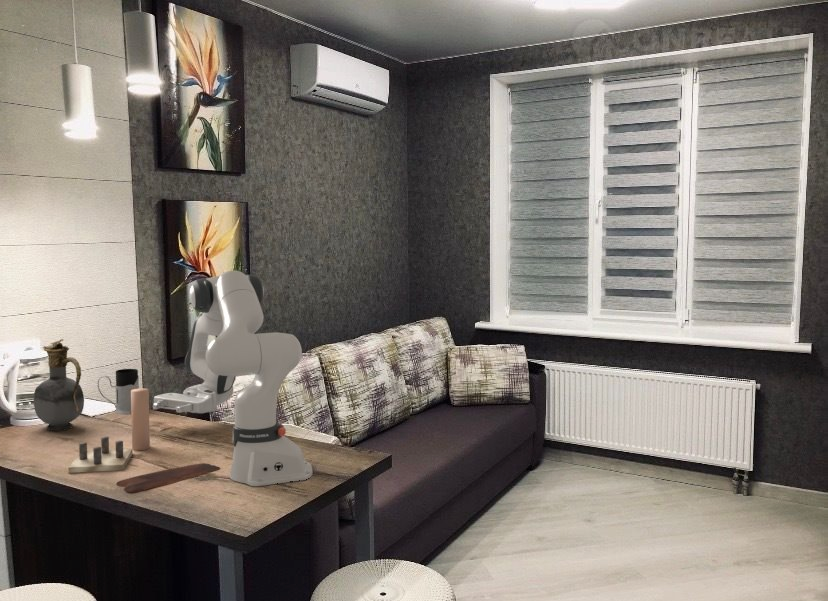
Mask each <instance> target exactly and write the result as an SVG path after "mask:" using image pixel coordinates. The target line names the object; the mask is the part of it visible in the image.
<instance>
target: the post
mask: <svg viewBox="0 0 828 601" xmlns="http://www.w3.org/2000/svg"><path fill="white" fill-rule="evenodd" d="M130 415H131V446H132V448H131V449H132V451H135V450H142V451H145V450H146V449H147V450H149V449H150V448H151V440H150V438H151V437H150V436H151V435H150V434H151V433H150V432H151V431H150V429H151V428H150V394H149V389H148V388H143V387H142V388H139V389H133V390H131V414H130ZM147 450H146V451H147Z"/></svg>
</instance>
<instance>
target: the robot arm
mask: <svg viewBox="0 0 828 601" xmlns="http://www.w3.org/2000/svg"><path fill="white" fill-rule="evenodd" d="M264 297H265V288H264V285H263V282H262V280H261V279H260V277H258V275H254V274H245V273H244V272H242V271H240V270H235V269H234V270H228V271H226V272H223V273H222V274H220V275H218V276H217V275H216V276H212V277H207V278H205V277H201V278H198V279H196V280H194V281H193V282H192V284H191V285H190V289H189V301H190V304H191V305H192V307H193V310H195V311H196V312H198V313H200V314H199V315H197V317H196V318H195V320H194V323H193V326H192V331H191V335H190V339H189V340H190V341H189V346H188V351H187V353H186V355H185V357H184V368H185V370H186V372H188V373H190V374H192V375H195V376H196V377H198V378H200V379H202V380H203V382H202V383H200V384H196V385H191V386H189V387H186V388H185V389H184V390H183V392H182V393H176V392H167V393H162V394H157V395H155V396H154V397H153V404H152V408H153V410H159V409H168V410H175V411H176V413H180V414H181V413H184V412H186V413H187V412H188V413H192V414H205V413H206V414H207V413H213V412H216V411H217V406H219V405H222V404H224V403H225V402H227V401H228V400H229V399H231V397H232V395H233V394H234V384H235V382H236V377H242V376H251V375H254V378H253V380H252V381H251V383H249V385H247V386H246V387H243V389H241V390H240V391H239V392H238V393H237V394H236V395H235V398H234V401H233V402H234V424H232V426H233V427H232V444H233V455H232V461H231V466H230V470H229V474H228V477H229V478H230V479H231V481H234V482H237V483H242V484H246V485H248V486H251V487H260V486H261V487H262V486H268V485H277V483H278V484H282V483H283V484H285V483H291V482H290V481H293V482H297V481H299V480H300V481H306V479H307V480H308V478H309V479H310V478H311V477H312V476H313V466H312V464H311V463H310V462H309V461H306V460H305V456H304V453H303V450H302V448H301V447H300V446H299V445H298V444H297V443H295V442H293V441H292V440H290V439H289V438H287V437H286V436H285V435H286V428H285V427H284V425H283V424H282V422H278V421H277V403H278V395H279V391H280V388H281V386H282V384H283V382H284V381H285V379H286V378H287V377H288V375H289V374H290V373H291V372H292V371H293V370H295V369H296V367H297V366H299V363H300V361H301V359H302V354H303V351H302V350H303V349H302V345H301V343H300V341H299V339H298V338H297V337H296V335H294V334H291V333H286V332H285V333H284V332H275V331H274V332H264V333H263V332H262V333H256V332H258V330H259V329H260V328H261V327H262V325H263V322H264V313H263V310H262V306H261V304H262V303H263V302H264ZM209 336H213V337H215V338H214V339H212V340H210V343H209V344H208V339H209ZM207 344H208V346H207ZM300 481H299V482H300Z"/></svg>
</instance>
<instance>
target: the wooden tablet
mask: <svg viewBox="0 0 828 601" xmlns="http://www.w3.org/2000/svg"><path fill="white" fill-rule="evenodd" d="M220 468H221V467H220V466H217V465H216V464H215V465H213V464H211V463H205V462H203V463H202V462H201V463H195V464H188V465H184V466H180V467H173V468H169V469H164V470H158V471H154V472H150V473H146V474H141V475H137V476H132V477H128V478H125V479H121V480H119V481H117V482H116V484H115V485H116V486H117V487H121V488H123V491H124V492H126V493H127V494H133V493H138V492H142V491H147V490H150V488H151V489H155V488H159V487H162V486H165V485H169V483H170V484H173V482H174V483H176V481H177V482H180V480H181V481H185V480H187V479H192V478H195V477H198V476H202V475H206V474H208V473H212V472H215V471H217V470H220ZM191 477H192V478H191ZM184 479H185V480H184ZM158 486H159V487H158Z"/></svg>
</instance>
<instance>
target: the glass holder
mask: <svg viewBox="0 0 828 601" xmlns="http://www.w3.org/2000/svg"><path fill="white" fill-rule="evenodd" d="M102 378H107V379H108V380H109V385H110V387H111V388H115V402H113V401H112V400H111V399H109V398H107V397H106V396H105V395H104V394H103V393H102V391H101V389H100V384H99V382H100V380H101V379H102ZM139 382H140V381H139V371H138V369H137V368H123V369H117V370H116V371H115V385H112V380H111V378H110V376H107V375H102V376H99V378H98V379H97V383H96V384H97V389H98V391H99V393H100V395H101V396H102V397H103V399H105V400H106V401H108V402H110V403H112V404H113V405H114V408H115V410H116V411H115V410H114V413H115V414H117V413H119V414H118V415H131V390H133V389H139V387H140V384H139Z"/></svg>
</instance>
